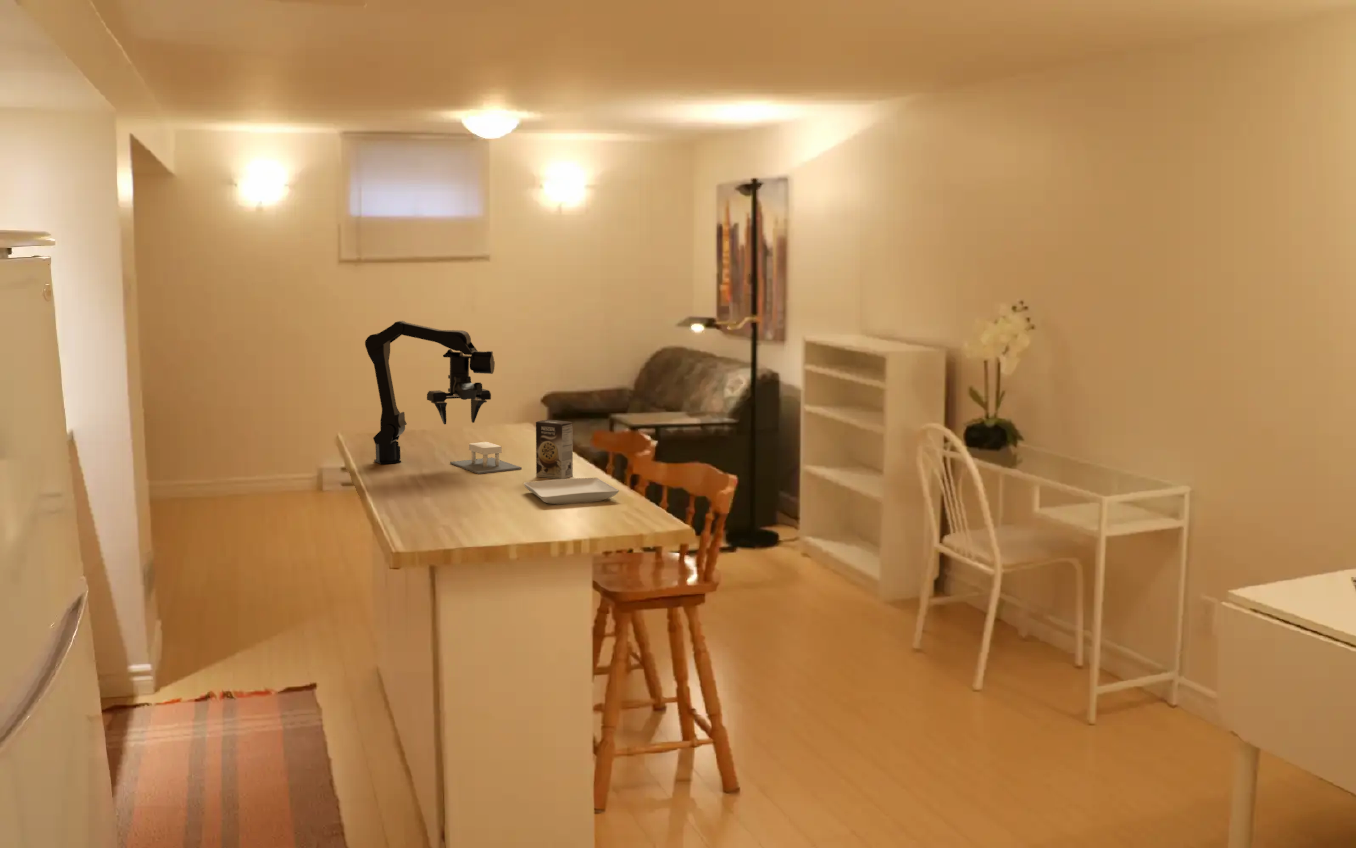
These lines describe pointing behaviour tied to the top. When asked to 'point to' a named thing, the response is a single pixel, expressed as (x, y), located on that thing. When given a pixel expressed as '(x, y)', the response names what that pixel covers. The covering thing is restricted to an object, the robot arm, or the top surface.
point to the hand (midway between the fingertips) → (459, 423)
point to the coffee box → (554, 449)
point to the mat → (490, 468)
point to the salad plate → (571, 490)
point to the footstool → (485, 451)
